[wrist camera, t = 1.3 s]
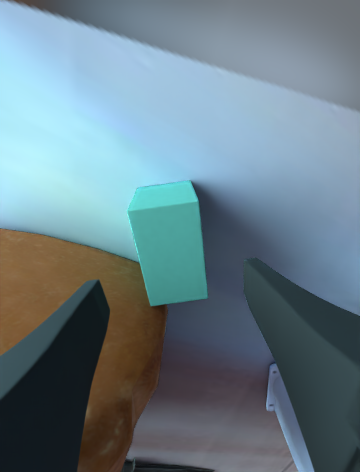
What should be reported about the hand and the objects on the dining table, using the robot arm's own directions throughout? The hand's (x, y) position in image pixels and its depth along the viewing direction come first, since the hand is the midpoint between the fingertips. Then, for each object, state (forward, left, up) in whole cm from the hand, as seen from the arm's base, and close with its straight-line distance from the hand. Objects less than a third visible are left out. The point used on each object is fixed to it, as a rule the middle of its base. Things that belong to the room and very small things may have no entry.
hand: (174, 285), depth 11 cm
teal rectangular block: (0, 0, -8) cm, 8 cm away
